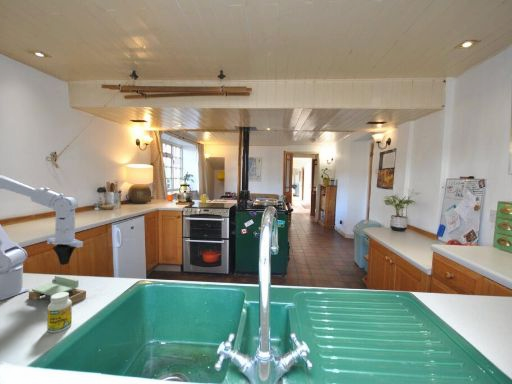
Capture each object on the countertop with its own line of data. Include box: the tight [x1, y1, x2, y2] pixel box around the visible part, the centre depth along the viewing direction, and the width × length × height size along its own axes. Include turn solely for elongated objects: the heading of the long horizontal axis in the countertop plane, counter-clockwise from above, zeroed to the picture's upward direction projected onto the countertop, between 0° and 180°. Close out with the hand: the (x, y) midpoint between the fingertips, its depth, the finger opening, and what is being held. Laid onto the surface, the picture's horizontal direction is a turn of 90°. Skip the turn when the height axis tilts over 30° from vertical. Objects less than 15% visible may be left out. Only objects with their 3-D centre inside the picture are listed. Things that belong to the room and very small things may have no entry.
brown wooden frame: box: [28, 288, 87, 305], centre depth 83 cm, size 17×8×3 cm, turn 75°
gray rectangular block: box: [44, 291, 72, 300], centre depth 83 cm, size 8×2×2 cm, turn 90°
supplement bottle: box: [46, 292, 73, 334], centre depth 67 cm, size 5×5×10 cm
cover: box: [31, 274, 80, 296], centre depth 84 cm, size 12×9×3 cm
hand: (64, 264), depth 89 cm, fingers closed
